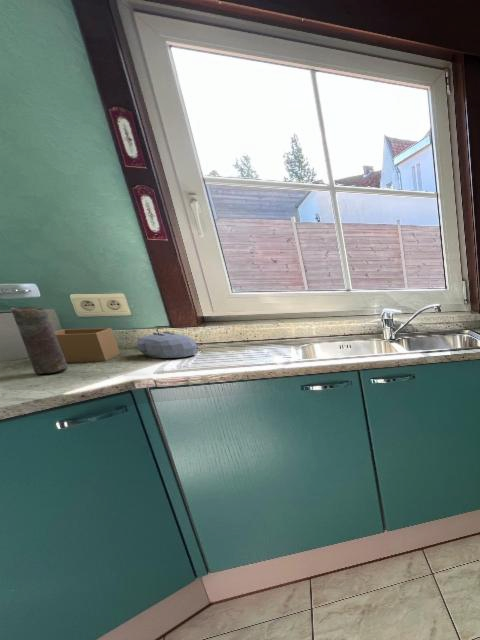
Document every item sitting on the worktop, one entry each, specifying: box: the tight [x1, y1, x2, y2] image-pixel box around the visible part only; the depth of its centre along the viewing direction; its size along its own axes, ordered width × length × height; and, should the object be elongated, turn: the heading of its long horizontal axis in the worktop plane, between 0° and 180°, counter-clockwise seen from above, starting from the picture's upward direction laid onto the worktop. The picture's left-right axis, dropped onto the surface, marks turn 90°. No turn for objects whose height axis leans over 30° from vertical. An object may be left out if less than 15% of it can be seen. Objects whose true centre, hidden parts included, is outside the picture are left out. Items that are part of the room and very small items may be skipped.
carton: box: [54, 327, 121, 364], centre depth 173 cm, size 13×13×10 cm
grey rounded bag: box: [136, 331, 198, 359], centre depth 181 cm, size 15×8×20 cm
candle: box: [10, 306, 69, 375], centre depth 151 cm, size 8×7×20 cm
